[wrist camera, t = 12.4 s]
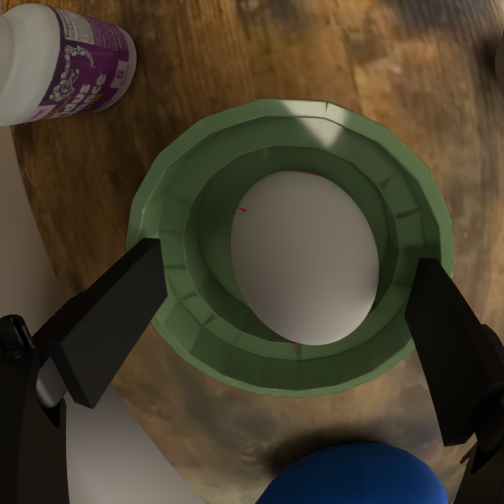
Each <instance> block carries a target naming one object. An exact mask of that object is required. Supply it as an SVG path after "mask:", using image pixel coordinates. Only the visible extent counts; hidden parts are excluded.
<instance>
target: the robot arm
mask: <svg viewBox="0 0 504 504" xmlns="http://www.w3.org/2000/svg"><path fill="white" fill-rule="evenodd" d="M167 296H168V293H167V287H166V280H165V273H164V266H163V258H162V250H161V242H160V239H158V238H143V239H142V240H140V241H139V242H138V243H137V244H136V245H135V246H134V247H133V248H131V249H130V250H129V251H128V252H127V253H126V254H125V255H124V256H122V257H121V258H120V259H119V260H118V261H117V262H116V263H115V264H114V265H113V266H112V267H110V268H109V269H108V270H107V271H106V272H105V273H104V274H103V275H102V276H101V277H100V278H99V279H98V280H97V281H96V282H94V283H93V284H92V285H91V286H90V287H89V288H88V289H87V290H86V291H85V292H81V293H79V294H78V295H76V296H74V297H72V298H70V299H69V300H68V301H67V302H66V303H65V304H64V305H63V306H62V309H59V310H58V311H57V312H56V313H55V316H52V317H51V318H50V319H49V320H48V321H47V322H46V323H45V324H44V325H43V326H42V327H41V328H40V329H39V331H37V332H36V333H35V334H34V335H33V336H32V337H31V335H30V333H29V331H28V328H27V326H26V324H25V321H24V320H23V318H22V317H21V316H19V315H7V316H4V317H2V318H0V504H70V503H69V492H68V481H67V465H66V464H67V462H66V403H65V400H64V398H63V396H64V394H65V393H66V392H67V391H69V393H70V395H71V397H72V398H73V400H74V402H76V403H78V404H81V405H83V406H86V407H88V408H91V409H94V407H95V406H96V404H97V402H98V401H99V399H100V398H101V396H102V394H103V393H104V391H105V390H106V388H107V387H108V385H109V383H110V382H111V380H112V379H113V377H114V376H115V374H116V373H117V371H118V369H119V368H120V366H121V365H122V363H123V362H124V360H125V359H126V357H127V356H128V354H129V353H130V351H131V350H132V348H133V347H134V345H135V344H136V342H137V341H138V339H139V338H140V336H141V335H142V333H143V332H144V330H145V329H146V327H147V326H148V324H149V323H150V321H151V320H152V318H153V317H154V315H155V314H156V312H157V311H158V309H159V308H160V307H161V305H162V304H163V302H164V301H165V299H166V298H167ZM404 317H405V319H406V322H407V325H408V327H409V330H410V333H411V335H412V338H413V341H414V344H415V347H416V350H417V353H418V356H419V359H420V362H421V365H422V368H423V371H424V374H425V377H426V380H427V384H428V387H429V390H430V394H431V397H432V401H433V404H434V408H435V411H436V415H437V419H438V423H439V427H440V431H441V435H442V439H443V443H444V447H448V446H454V445H459V444H465V443H466V442H467V441H468V439H469V438H470V437H471V436H472V435H473V434H474V432H475V434H476V437H477V440H478V441H477V442H476V443H475V444H474V446H473V447H472V448H471V449H470V450H469V451H468V452H467V453H466V454H465V455H464V456H463V457H462V459H461V461H460V463H463V462H464V461H465V460H466V459H467V458H468V457H469V456H470V457H469V460H468V463H467V464H466V465H467V467H466V470H465V473H464V476H463V479H462V482H461V484H460V487H459V490H458V492H457V495H456V498H455V500H454V503H453V504H504V346H502V342H501V341H500V339H499V337H498V336H497V334H496V333H495V332H494V331H493V330H492V329H491V328H489V327H488V326H487V325H486V324H480V322H479V321H478V319H477V317H476V316H475V314H474V313H473V311H472V310H471V308H470V306H469V305H468V303H467V302H466V300H465V299H464V297H463V296H462V294H461V293H460V291H459V290H458V288H457V287H456V285H455V284H454V283H453V281H452V280H451V278H450V277H449V275H448V274H447V273H446V271H445V270H444V268H443V267H442V266H441V264H440V263H439V262H438V260H437V259H435V258H423V257H420V258H419V263H418V267H417V271H416V275H415V278H414V282H413V286H412V289H411V293H410V297H409V300H408V303H407V307H406V310H405V313H404Z"/></svg>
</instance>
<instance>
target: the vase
mask: <svg viewBox="0 0 504 504" xmlns="http://www.w3.org/2000/svg"><path fill="white" fill-rule="evenodd" d="M255 504H448V500H447V495H446V489H445V487H444V485H443V484H442V483H441V482H440V480H439V479H438V478H437V476H436V475H435V474H434V472H433V471H432V470H431V468H430V467H429V466H428V465H427V464H425V463H424V462H422V461H421V460H419V459H418V458H416V457H415V456H413V455H411V454H410V453H408V452H407V451H405V450H402V449H399V448H395V447H392V446H388V445H385V444H381V443H372V442H360V443H348V444H340V445H336V446H332V447H327V448H324V449H322V450H319V451H316V452H314V453H312V454H310V455H308V456H306V457H304V458H302V459H301V460H299V461H297V462H295V463H293V464H292V465H290V466H289V467H288V468H287V469H286V470H284V471H283V472H282V473H281V474H280V475H278V476H277V477H276V478H275V479H274V480H273V481H272V482H271V483H270V484H269V485H268V487H267V488H266V489H265V491H264V492H263V494H262V495H261V496H260V498H259V499H258V500H257V502H256V503H255Z"/></svg>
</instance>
